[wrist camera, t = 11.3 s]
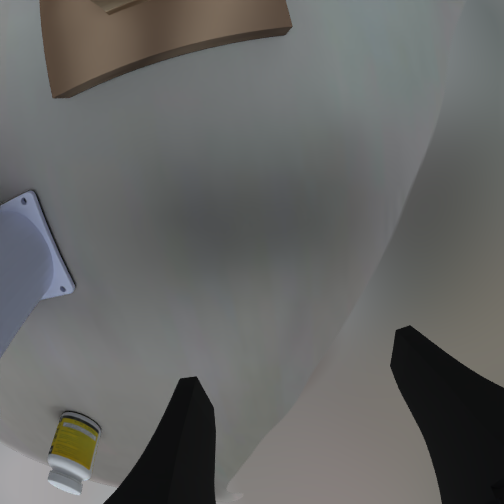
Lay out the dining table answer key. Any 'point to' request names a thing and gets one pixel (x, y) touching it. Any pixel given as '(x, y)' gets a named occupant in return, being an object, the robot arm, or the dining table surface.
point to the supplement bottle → (73, 452)
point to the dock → (144, 35)
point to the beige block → (116, 5)
